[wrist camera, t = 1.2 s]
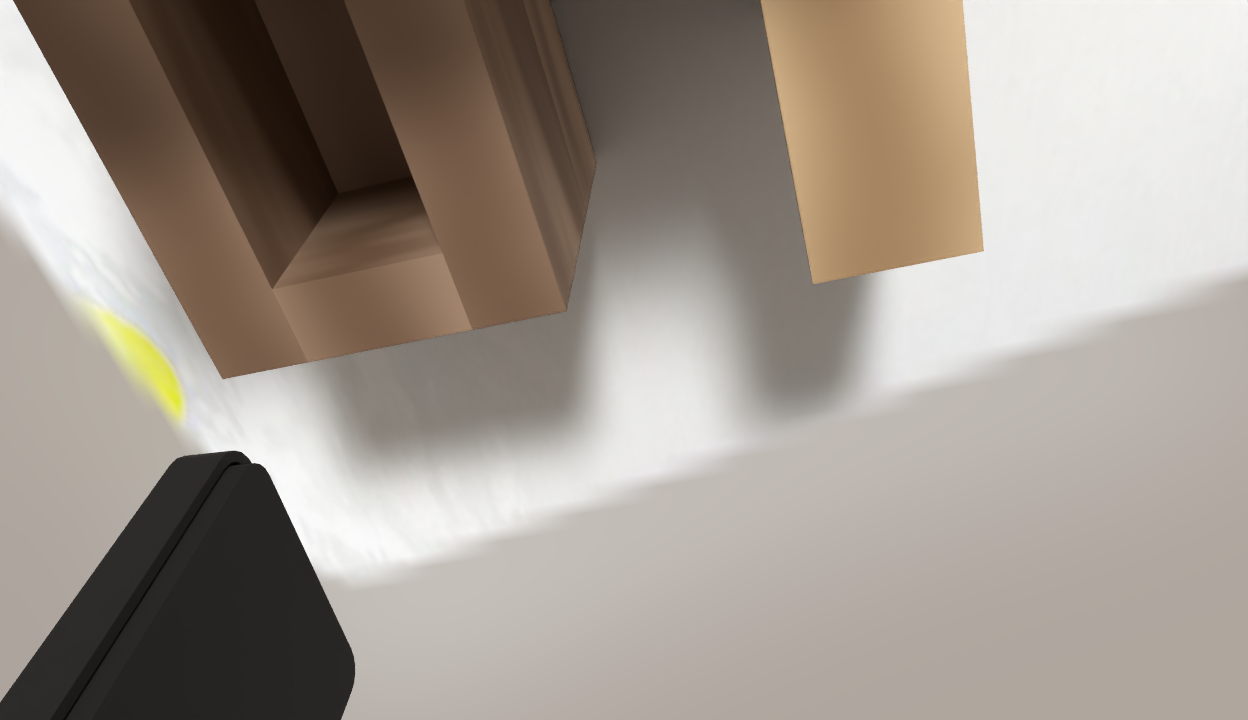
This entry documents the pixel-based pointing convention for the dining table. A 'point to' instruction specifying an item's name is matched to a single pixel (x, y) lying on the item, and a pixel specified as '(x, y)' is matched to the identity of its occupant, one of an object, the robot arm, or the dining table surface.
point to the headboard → (334, 162)
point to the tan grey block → (877, 130)
